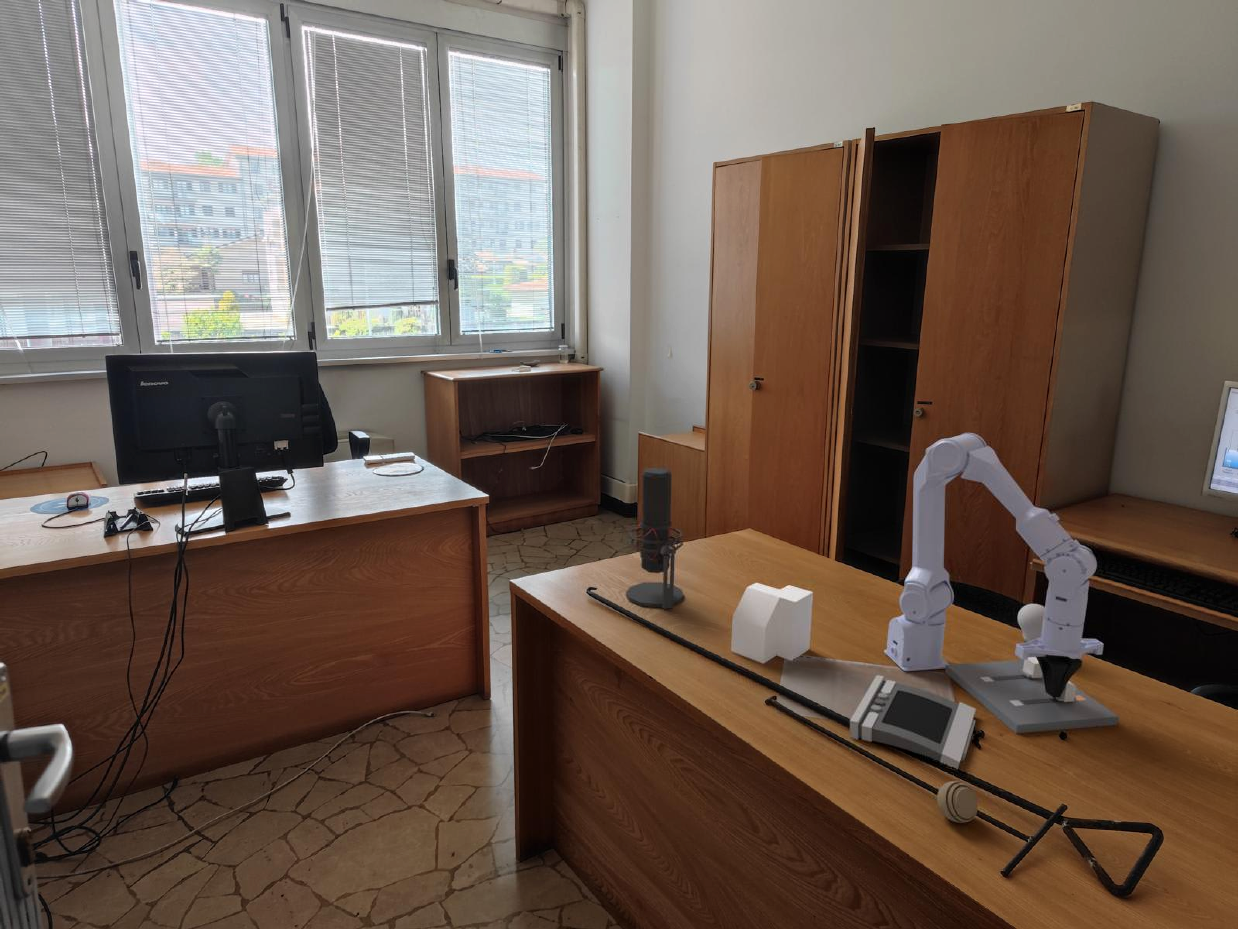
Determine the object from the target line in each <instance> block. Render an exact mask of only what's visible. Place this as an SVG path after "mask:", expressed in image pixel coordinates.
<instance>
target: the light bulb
mask: <svg viewBox="0 0 1238 929" xmlns="http://www.w3.org/2000/svg"><path fill="white" fill-rule="evenodd" d="M1044 611H1045V606H1043V605H1041V604H1038V603H1028V604H1026V605H1024V606H1022V607H1021V608H1020V610H1019V611H1018V613H1017V624H1018V626H1019V627H1020V629H1021V631H1022V637H1023V643H1025V642H1028V641H1031V640H1034V639H1037V638H1040V637H1041V632H1042V625H1043V617H1044Z"/></svg>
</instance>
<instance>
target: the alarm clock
mask: <svg viewBox="0 0 1238 929" xmlns="http://www.w3.org/2000/svg"><path fill="white" fill-rule="evenodd" d="M884 676H885V675H878V674H877V675H875V677H874V679H873V681H872V682H871V684H870V686H869V687H868V690H867V691H866V692H865V695H864V696H863V697H862V700H860V702H859V704H858V706H857V708H856V709H855V711H854V713H853V715H851V718H850V719H849V738H851V739H854V740H859V739H861V740H862V741H867V742H870V743H872V742H876V743H882V744H885V745H890V746H893V747H897V748H900V749H904V750H907V751H910V752H913V753H915V754H918V753H919V755H921V754H922V755H921V756H923V755H925V756H924V757H926V756H928V757H931V758H933V759H934V760H933V761H935V760H938V761H940V762H941V763H944V764H947V765H948V766H950V767H954V768H956V769H957V770H958V768H959V765H960V762H965V758H966V756H967V752H968V751H969V750H968V749H969V746H970V742H971V738H972V736H973V732H974V728H975V725H976V722H977V721H976V719H974V717H975V714H976V710H977V709H976V708H974V707H973V706H970V705H968V704H966V703H963V702H961V701H960V702H959V703H957V702H955V701H953V700H950V699H948V698H946V697H944V696H941V695H938V694H935V693H933V692H930V691H929V690H924V689H921V688H918V687H914V686H911V685H906V684H902V683H898V682H897V681H895V680H889V679H887V680H885V677H884ZM928 757H927V758H928Z"/></svg>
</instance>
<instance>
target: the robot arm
mask: <svg viewBox="0 0 1238 929" xmlns="http://www.w3.org/2000/svg"><path fill="white" fill-rule="evenodd" d="M961 473H962V475H960V474H961ZM958 475H960V478H961V479H963V480H964V479H965V480H967V481H968V480H969V481H973V482H978V483H982V484H983V485H984V486H985V487H986V488H987V489H988V490H989V491H990V492H991V493H992V495H993V496H994V497H995V498H996V499H997V500H998V501H999V502H1000V504H1002V505H1003V506H1004V508H1006V510H1008V512H1010V514H1011V515H1012V516H1013V517H1014V518H1015V519H1016V520H1015V530H1016V532H1017V533H1018V534H1019V535H1020V536H1021V538H1022V539H1023V540H1024V541H1025V542H1026V544H1027V545H1028V546H1029V547H1030V549H1031V550H1032V551H1033V552H1034V553H1035V554H1036V555H1037V556H1038V558H1039V559H1040V560H1041V561H1042V562H1043V563H1044V564H1045V565H1044V566H1043V567H1044V568H1043V569H1044V574H1045V576H1046V578H1047V579H1048V588H1047V590H1046V598H1045V605H1044V607H1045V611H1044V617H1043V625H1042V632H1041V637H1040V638H1037V639H1034V640H1031V641H1028V642H1025V643H1024V642H1022V643H1015V649H1014V650H1015V651H1014V655H1015V656H1017V657H1018V658H1019V659H1020V660H1027V659H1028V657H1036V658H1037V660H1038V662H1039V665H1040V667H1041V670H1042V674H1043V678H1044V684H1045V692H1046V693H1048V694H1049V695H1050V696H1052V697H1053V698H1056V697H1060V696H1061V694H1062V692H1063V690H1064V688H1065V686H1066V685H1067V683H1068V681H1070V679H1071V678H1072V677H1073V675H1074V674H1075V673H1076V672H1078V670H1079V669H1081V668H1082V665H1083V661H1082V660H1081V659H1082V657H1083V654H1095V655H1096V656H1097V655H1103V651H1104V643H1103V642H1102V641H1099V640H1098V639H1096V638H1083V632H1084V625H1085V618H1086V611H1087V605H1088V599H1089V598H1088V597H1089V594H1088V593H1089V587H1090V580H1088V579H1089V578H1092V576H1093V575H1094V574H1095V572H1096V570H1097V567H1098V562H1097V558H1096V556H1095V555H1094V553H1093V551H1092V549H1090V548H1089V547H1087V546H1085V545H1082V544H1080V542H1079V541H1078V540H1077V539H1073V538H1072V537H1071V536H1070V534H1068V531H1066V530H1065V529H1064V528H1063V526H1062V525H1061V524H1060V523H1059V522H1058V521H1059V520H1060V517H1059V516H1058V515H1057V514H1056V513H1052V514H1051V513H1050V511H1049V510H1048V509H1045V508H1041V507H1037V506H1035V505H1033V503H1032V501H1031V500H1030V499H1029V498H1028V496H1027V495H1026V494H1025V492H1024V491H1023V489H1021V487H1020V486H1019V485H1018V483H1017V482H1016V481H1015V479H1014V478H1013V477H1012V476H1011V474H1010V473H1009V471H1008V470H1007V469H1006V468H1005V467H1004V465H1003V464H1002V463H1001V460H1000V459H999V457H998V456H997V453H996V452H995V450H994V449H993V448H992V447H990V446H989V445H987V442H985V440H984V439H983V438H982V437H981V436H980V435H978V434H976V433H973V432H964V433H962V434H960V435H956V436H953V437H949V438H942V439H939V440H937V441H935V443H933V444H932V445H930V446H929V447H927V448H926V449H925V455H924V456H923V458H922V460H921V462H920V463H919V465H918V467H917V468H916V470H915V471H914V473H913V486H912V487H913V488H912V489H913V490H912V492H913V498H912V500H913V504H912V506H913V507H912V509H913V510H912V566H911V570H910V571H909V573H908V575H907V576H906V578H905V580H904V588H903V590H902V593H901V594H900V597H899V601H898V602H899V608H900V609H901V612H902V613H903V614H902V615H900V616H897V617H892V618H891V619H890V621H889V622H888V629H887V640H886V641H887V642H886V649H884V651H883V652H884V654H885V655H886V656H888V657H889V658H890V660H892V661H893V662H894V663H895V664H896V665H897V666H898V667H899V668H900V669H901V670H903V671H904V672H913V671H914V672H915V671H916V672H917V671H927V670H928V671H929V670H939V669H940V670H942V669H944V670H945V668H946V665H951V664H950V663H949V662H948V661H946V660H945V659H944V658H943V657H942V656H943V648H944V640H945V638H944V637H945V630H946V621H947V616H946V611H947V609H948V608H949V607H951V605H952V604H953V602H954V597H955V595H954V590H953V588H952V585H951V583H950V573H949V572H948V571H947V569H945V566H944V563H945V562H944V561H945V560H944V559H945V556H944V555H945V517H946V516H945V508H946V485H947V484H948V483H949V482H951V481H952V480H954V479H955V478H956V477H957V476H958Z"/></svg>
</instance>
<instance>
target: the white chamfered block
mask: <svg viewBox="0 0 1238 929" xmlns="http://www.w3.org/2000/svg"><path fill="white" fill-rule="evenodd" d="M813 598H814V592H813V591H811V590H806V589H804V588H800V587H797V586H793V585H789V584H788V585H785V587H783V588H780V589H779V588H775V587H773V586H768V585H766V584H762V583H759V582H755V583H752V584H751V585H749V586H747V587H746V588H745V591H744V593H743V595H742V597H741V599H740V601H739V603H738V605H737V607H736V609H735V611H734V612H733V615H732V619H731V620H732V624H731V625H732V626H731V644H730V645H731V646H730V647H731V648H730V651H731V652H733V653H735V654H737V655H740V656H742V657H745V658H748V659H751V660H753V661H755V662H758V663H760V664H765V663H767V662H768V661H770V660H771V659H773V658H774V657H776V656H778V657H780V658H783V659H785V660H788V659H789V660H788V661H791V660H792V661H794V660H795V659H796V658H795V657H797V658H798V657H800V656H802V655H803V654H805V653H806V652H807V651H809V650H810V644H811V631H812V630H811V629H812V628H811V627H812V614H813V600H814V599H813ZM794 658H795V659H794ZM793 659H794V660H793Z"/></svg>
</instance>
